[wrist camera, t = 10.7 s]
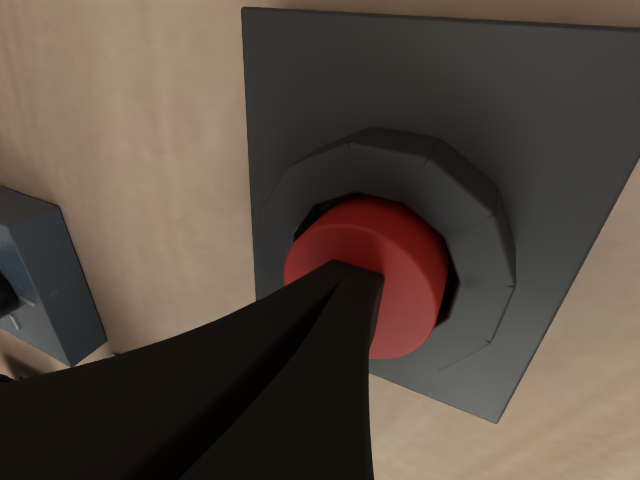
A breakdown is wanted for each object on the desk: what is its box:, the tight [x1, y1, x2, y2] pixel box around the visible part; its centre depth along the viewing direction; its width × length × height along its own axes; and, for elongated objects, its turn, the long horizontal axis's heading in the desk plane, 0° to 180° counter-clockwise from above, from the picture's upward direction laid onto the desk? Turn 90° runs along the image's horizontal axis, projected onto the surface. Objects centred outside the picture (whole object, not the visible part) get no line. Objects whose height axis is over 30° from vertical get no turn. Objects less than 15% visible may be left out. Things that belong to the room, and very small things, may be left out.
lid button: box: [284, 194, 449, 359], centre depth 10 cm, size 4×4×2 cm
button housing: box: [241, 7, 640, 424], centre depth 11 cm, size 12×10×4 cm
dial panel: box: [0, 186, 107, 368], centre depth 26 cm, size 12×10×3 cm
